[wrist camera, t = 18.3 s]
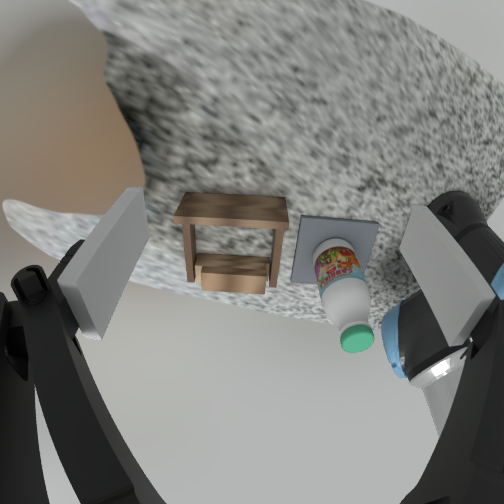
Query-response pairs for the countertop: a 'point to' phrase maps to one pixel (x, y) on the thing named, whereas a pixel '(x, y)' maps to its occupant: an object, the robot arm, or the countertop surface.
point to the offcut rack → (236, 215)
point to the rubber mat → (325, 229)
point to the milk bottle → (344, 293)
